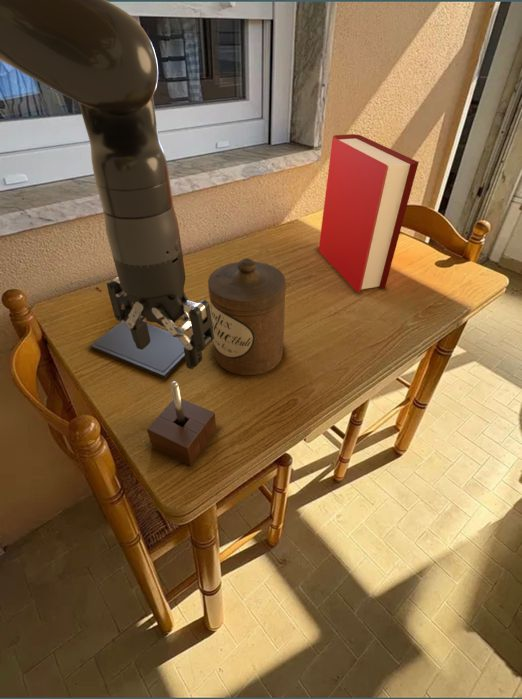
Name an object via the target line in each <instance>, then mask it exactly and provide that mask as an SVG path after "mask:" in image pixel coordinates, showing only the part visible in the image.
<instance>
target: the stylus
mask: <svg viewBox="0 0 522 699" xmlns="http://www.w3.org/2000/svg"><path fill="white" fill-rule="evenodd" d="M169 386H170V391H171V396H172V400H173V401H174V406H175V411H176V416H177V421H178V425H179V426H181V427H183V426H184V425H185V424H186V422H185V417H184V411H183V406H182V401H181V399H182V395H181V390H180V385H179V382H178V381H176V380H173V381H171V382H170V385H169Z"/></svg>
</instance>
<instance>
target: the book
mask: <svg viewBox="0 0 522 699" xmlns="http://www.w3.org/2000/svg"><path fill="white" fill-rule="evenodd" d="M418 167H419V161H418V160H416V159H413V158H411V157H408V156H407V155H404V154H402V153H400V152H398V151H395V150H394V149H391V148H389V147H386V146H385V145H383V144H381V143H379V142H376V141H374V140H372V139H369V138H367V137H365V136H363V135H361V134H356V133H352V134H350V133H349V134H348V133H347V134H334V135H333V136H332V140H331V148H330V155H329V162H328V172H327V180H326V188H325V195H324V204H323V212H322V219H321V227H320V236H319V244H318V252H319V253H320V254H321V255H322V256H323V258H325V259H326V260H327V262H329V263H330V265H331V266H332V267H333V268H334V269H335V270H336V271H337V272H338V274H340V275H341V277H343V279H344V280H345V281H346V282H347V283H348V284H349V285H350V286H351V288H352V289H353V290H354V291H355V292H356V293H357V294H360V292H361V291H362V290H365V289H366V290H367V289H372V288H378V287H379V288H381V289H384V290H385V289H386V285H387V283H388V278H389V274H390V271H391V267H392V263H393V259H394V256H395V252H396V248H397V246H398V241H399V239H400V238H399V237H400V233H401V230H402V226H403V222H404V219H405V215H406V211H407V208H408V207H407V206H408V204H409V199H410V197H411V193H412V190H413V185H414V181H415V177H416V173H417V170H418Z"/></svg>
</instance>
